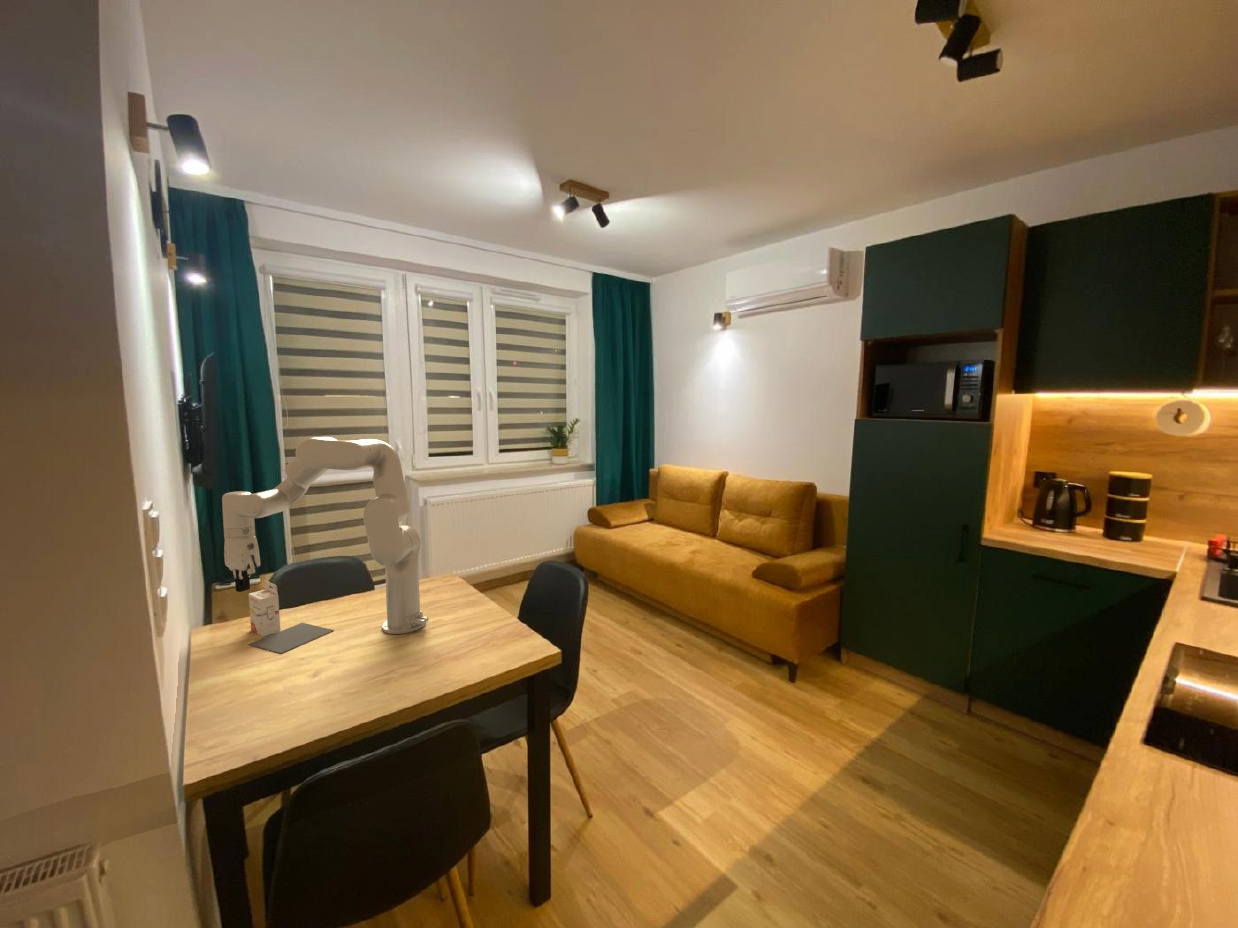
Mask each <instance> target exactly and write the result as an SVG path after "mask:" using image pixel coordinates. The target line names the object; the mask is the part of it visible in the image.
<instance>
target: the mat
mask: <svg viewBox="0 0 1238 928" xmlns="http://www.w3.org/2000/svg"><path fill="white" fill-rule="evenodd" d="M334 631H335V630H334V629H331V628H327V627H324V626H323V627H322V626H318V625H314V624H309V623H305V622H301V623H298V624H295V625H293V626H290V627H287V628H285V629H283V630H282V629H281V630H280V631H279V632H277V633H274V634H271V635H268V636H265V637H262V638H260V639H258V640H256V641H252V642H250V643H248V644H247V645H248V646H251V647H254V648H258V649H262V650H265V651H268V650H269V652H272V651H273V653H275V654H279V653H280V654H279V655H282V654H285V653H287V652H289V651H292V650H293V649H296V648H298V647H300V645H301V646H303V645H305V644H308V643H309V642H312V641H314V640H317V639H319V638H321V637H323V636H326V635H328V634H330V633H332V632H334ZM284 652H285V653H284Z"/></svg>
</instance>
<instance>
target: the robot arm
mask: <svg viewBox="0 0 1238 928" xmlns="http://www.w3.org/2000/svg"><path fill="white" fill-rule="evenodd" d="M401 463H402V462H401V459H400V456H399V454H398V452H397V451H396V449H395V448H394V447H393V446H392V445H390V444H389V443H387V442H386V441H382V440H379V439H375V438H364V439H357V440H354V439H353V440H338V439H336V438H334V437H331V436H318V437H317V436H316V437H309V438H305V439H303V440H302V441H300V442H299V444H298V445H297V446H296V449H295V458H293V459H292V460H291V461H289V462H288V463H287V464H286V465H285V467H284V472H285V475H286V477H285V479H284V480H282V481H281V482H280V483H279V484H278V485H276V486H275V487H274V488H272V489H267V490H263V491H259V492H256V493H251V492H250V491H245V490H244V491H243V490H240V491H231V492H227V493H224V494H223V495H222V497H221V503H222V520H223V522H222V523H223V524H222V525H223V537H224V538H223V539H224V544H223V545H224V547H223V549H224V550H223V556H224V557H223V558H224V559H223V560H224V565H225V566H226V567H227V568H228V570H230V571H231V572H232V574H233V579H234V584H235V585H234V586H235V592H237V593H238V592H239V593H241V592H245V591H248V590H250V589H251V581H250V579H251V578H250V577H251V576H252V574H255V573H256V568H259V567H260V566H261V557H260V548H259V543H258V539H257V536H256V529H255V527H256V526H255V519H260V518H261V519H262V518H264V517H269V516H271V515H274V514H278V513H282V512H283V511H285V510H287V509H289V508H290V507H292V506H293V505H294V504H295V503H297V501H299V500H300V499H301V498H302V497H303V496H304V495H305V494H306V493H307V492H308V490H309V488H310V486H311V485H312V484H313V483H314V482H315V481H316V480H317V479H319V478H320V477H321V476H322V475H323V474H325V473H326V472H327V471H329V470H336V471H337V470H338V471H356V470H358V471H359V470H361V469H366V468H372V470H373V476H372V484H373V488H374V492H375V497H374V498H372V499H370V500H369V501H368V502H367V503H366V505H365V507H364V509H363V514H362V515H363V516H362V517H363V525H364V529H365V534H366V538H367V542H368V547H369V551H370V554H371V557H372V558H373V559H374V561H375V562H376V563H377V564H379V565H380V566H384V567H385V574H384V575H385V597H386V599H385V600H386V620H385V621H384V622H383V623H382V624H381V630H382V631H383V632H384V633H386V634H390V635H400V634H401V635H402V634H409V633H411V632H415V631H418V630H420V629H421V628H423V627H425V626H426V625H427V623H428V622H429V619H430V618H429V617H427V616H423V615H424V614H423V613H424V612H423V610H421V600H420V551H421V538H420V533H418V531H417V530H416V529H415V528H414V527H412V526H410V525H400V523H401V522H402V521H404V520H405V519H406V518H408V516H409V514H410V511H411V510H410V509H411V506H410V502H409V497H408V492H407V488H406V483H405V479H404V474H403V469H402V464H401Z"/></svg>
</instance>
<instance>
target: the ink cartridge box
mask: <svg viewBox="0 0 1238 928" xmlns="http://www.w3.org/2000/svg"><path fill="white" fill-rule="evenodd" d="M263 582H264V588H265V589H261V590H258V591H254V592H250V593H248V604H249V606H248V607H249V617H250V618H249V619H250V630H251V631H252V632H254V633H255V634H258V635H259V636H260V637H262V638H265V637H267V636H270V635H272V634H275V633H277V632H280V631H281V619H280V618H281V616H280V603H279V594H278V586H277V585H276V584H275V583H272V582H270V581H268V580H266V579H265V580H264V581H263Z"/></svg>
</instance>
